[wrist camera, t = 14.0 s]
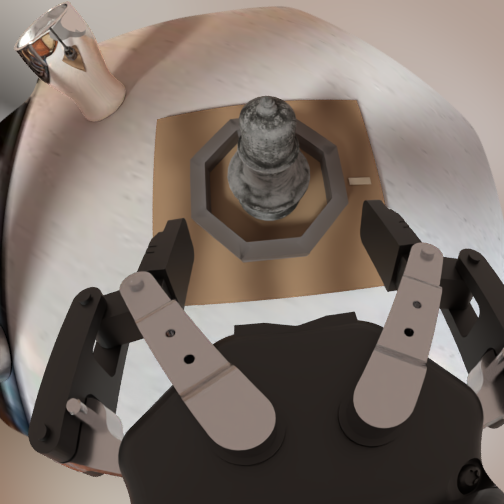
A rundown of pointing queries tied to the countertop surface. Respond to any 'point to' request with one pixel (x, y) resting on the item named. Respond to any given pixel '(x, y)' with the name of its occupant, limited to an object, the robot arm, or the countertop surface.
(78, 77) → the beer glass
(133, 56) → the countertop surface
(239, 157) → the grey turned stone piece
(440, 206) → the countertop surface
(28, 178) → the countertop surface
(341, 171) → the socket plate
